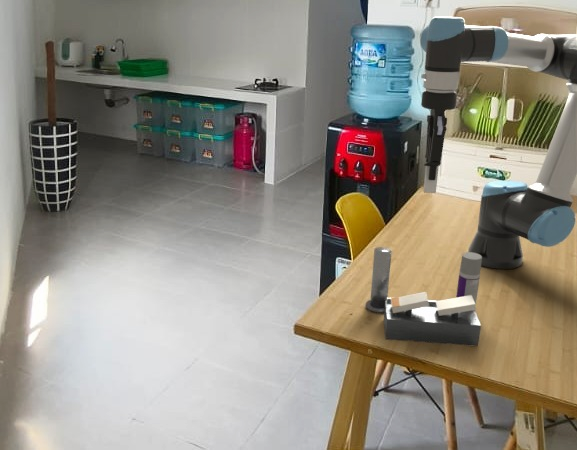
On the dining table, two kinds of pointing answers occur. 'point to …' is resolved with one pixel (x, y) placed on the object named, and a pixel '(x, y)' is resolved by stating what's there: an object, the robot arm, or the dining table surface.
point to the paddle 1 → (409, 302)
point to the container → (469, 275)
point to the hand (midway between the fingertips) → (429, 191)
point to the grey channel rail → (431, 325)
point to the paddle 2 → (455, 305)
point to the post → (379, 280)
